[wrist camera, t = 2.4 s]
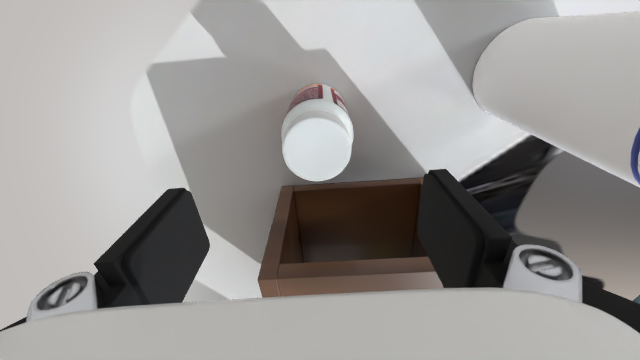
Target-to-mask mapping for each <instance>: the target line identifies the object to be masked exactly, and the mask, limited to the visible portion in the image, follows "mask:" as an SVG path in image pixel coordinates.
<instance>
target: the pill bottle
mask: <svg viewBox="0 0 640 360" xmlns="http://www.w3.org/2000/svg"><path fill="white" fill-rule="evenodd" d="M353 138H354V130H353V124H352V122H351V119H350V117H349V114H348V111H347V108H346V105H345V102H344V100H343V98H342V96H341V95H340V94H339V93H338V92H337V91H336V90H335V89H334V88H332V87H330V86H328V85H325V84H312V85H308V86H306V87H304V88H303V89H301V90H300V91H299V92H298V93H297V94H296V95H295V97H294V98H293V100H292V102H291V105H290V107H289V110H288V112H287V115H286V117H285V119H284V122H283V125H282V129H281V140H282V154H283V158H284V161H285V163H286V165H287V166H288V168H289V169H290V170H291V171H292V172H293V173H294V174H296V175H297V176H299V177H301V178H303V179H305V180H309V181H324V180H328V179H331V178H333V177H335V176H337V175H338V174H339V173H341V172H342V171H343V170H344V168H345V167H346V166H347V164H348V162H349V160H350V156H351V146H352V143H353Z"/></svg>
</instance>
